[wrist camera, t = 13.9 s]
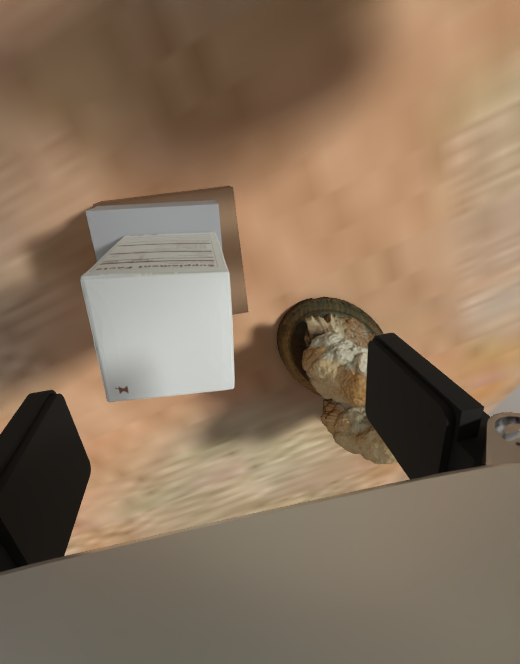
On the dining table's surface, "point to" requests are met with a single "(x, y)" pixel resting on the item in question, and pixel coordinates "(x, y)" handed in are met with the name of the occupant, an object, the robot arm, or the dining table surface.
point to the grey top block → (150, 221)
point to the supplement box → (161, 316)
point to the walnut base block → (227, 225)
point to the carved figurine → (335, 368)
